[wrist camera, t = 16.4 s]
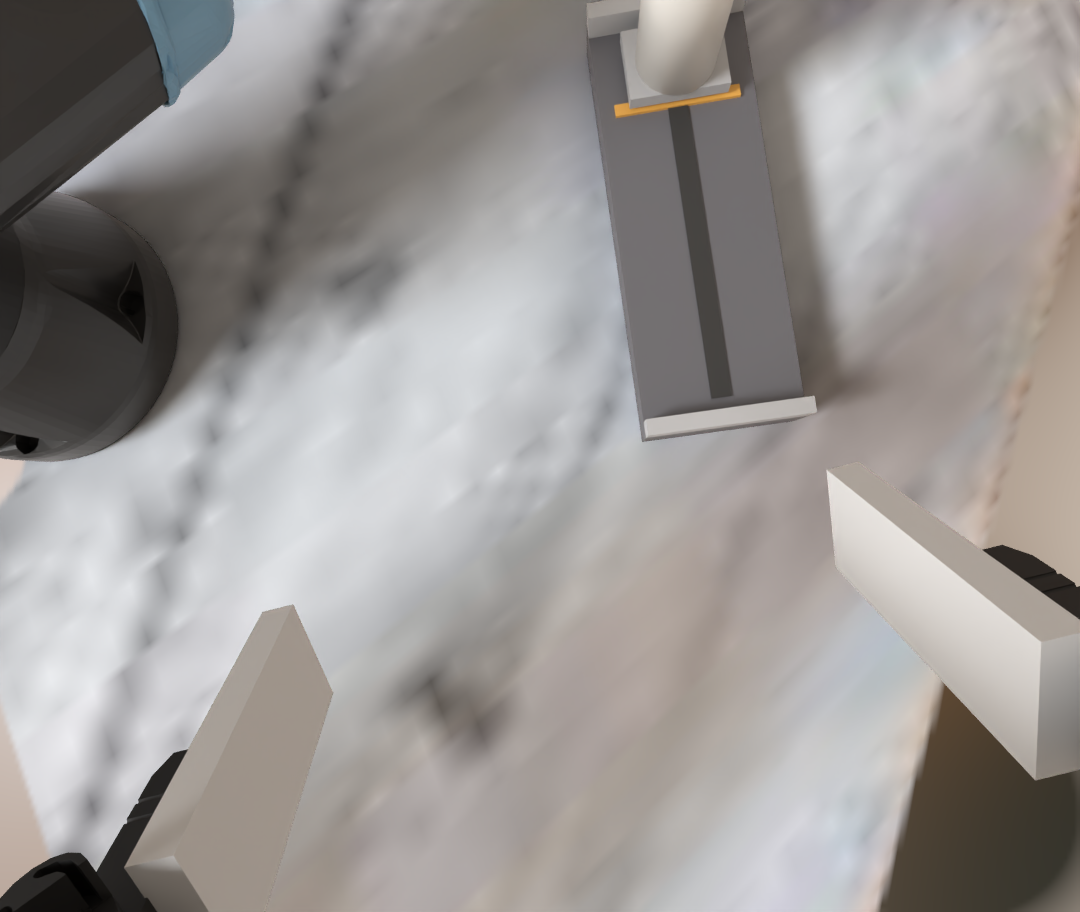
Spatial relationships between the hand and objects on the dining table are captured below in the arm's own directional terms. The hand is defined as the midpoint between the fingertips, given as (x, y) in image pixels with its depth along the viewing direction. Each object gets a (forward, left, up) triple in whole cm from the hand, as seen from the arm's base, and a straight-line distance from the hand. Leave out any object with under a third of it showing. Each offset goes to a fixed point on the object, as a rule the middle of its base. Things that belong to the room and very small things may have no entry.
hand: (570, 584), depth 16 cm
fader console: (-5, +17, -20) cm, 27 cm away
